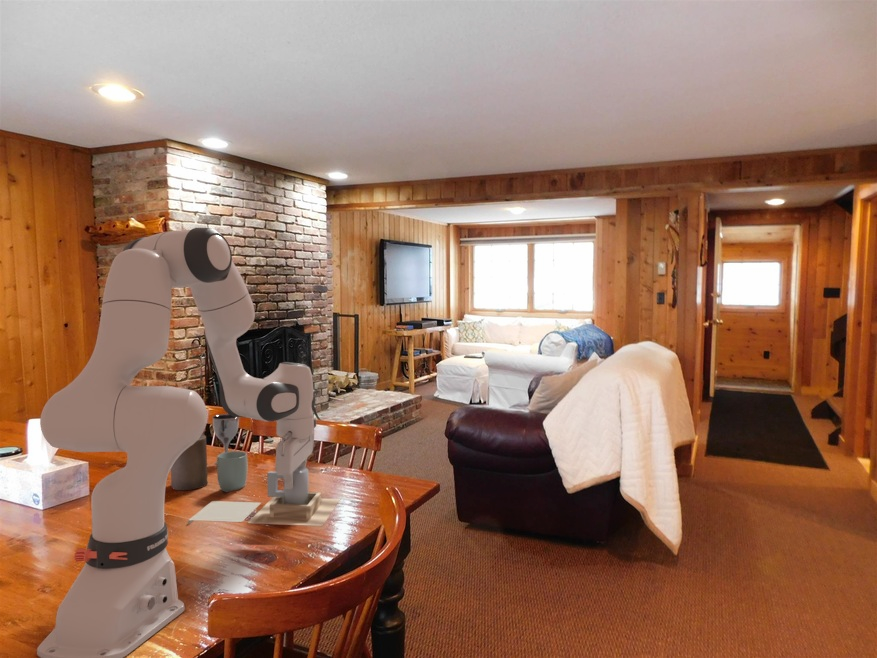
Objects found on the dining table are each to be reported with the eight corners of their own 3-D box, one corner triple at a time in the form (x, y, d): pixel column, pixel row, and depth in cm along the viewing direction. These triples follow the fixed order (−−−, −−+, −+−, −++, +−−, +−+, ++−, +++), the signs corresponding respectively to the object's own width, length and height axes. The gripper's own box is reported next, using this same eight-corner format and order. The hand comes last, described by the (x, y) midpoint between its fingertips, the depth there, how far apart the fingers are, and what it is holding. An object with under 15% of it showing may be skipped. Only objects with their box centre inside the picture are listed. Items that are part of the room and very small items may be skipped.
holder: (322, 530, 139) (322, 513, 138) (247, 527, 140) (246, 510, 139) (340, 502, 156) (340, 487, 156) (273, 500, 158) (273, 485, 157)
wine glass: (212, 460, 194) (211, 414, 193) (237, 457, 198) (237, 413, 197) (214, 467, 187) (213, 419, 186) (240, 464, 190) (240, 417, 189)
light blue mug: (304, 515, 145) (304, 474, 144) (264, 513, 146) (264, 473, 145) (311, 506, 151) (311, 467, 150) (272, 505, 151) (272, 466, 151)
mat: (241, 526, 140) (241, 522, 140) (188, 524, 141) (188, 520, 141) (261, 506, 153) (261, 502, 153) (212, 504, 154) (212, 500, 154)
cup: (238, 495, 161) (237, 459, 160) (212, 493, 163) (211, 457, 162) (252, 486, 169) (252, 452, 168) (227, 484, 170) (227, 450, 170)
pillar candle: (213, 480, 174) (212, 429, 173) (197, 491, 164) (195, 437, 163) (182, 479, 175) (180, 429, 174) (163, 490, 165) (161, 436, 164)
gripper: (295, 438, 136) (295, 497, 138) (318, 418, 157) (318, 469, 158) (268, 437, 137) (268, 496, 138) (294, 417, 157) (295, 468, 158)
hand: (295, 481), depth 148 cm, fingers open, 8 cm apart
